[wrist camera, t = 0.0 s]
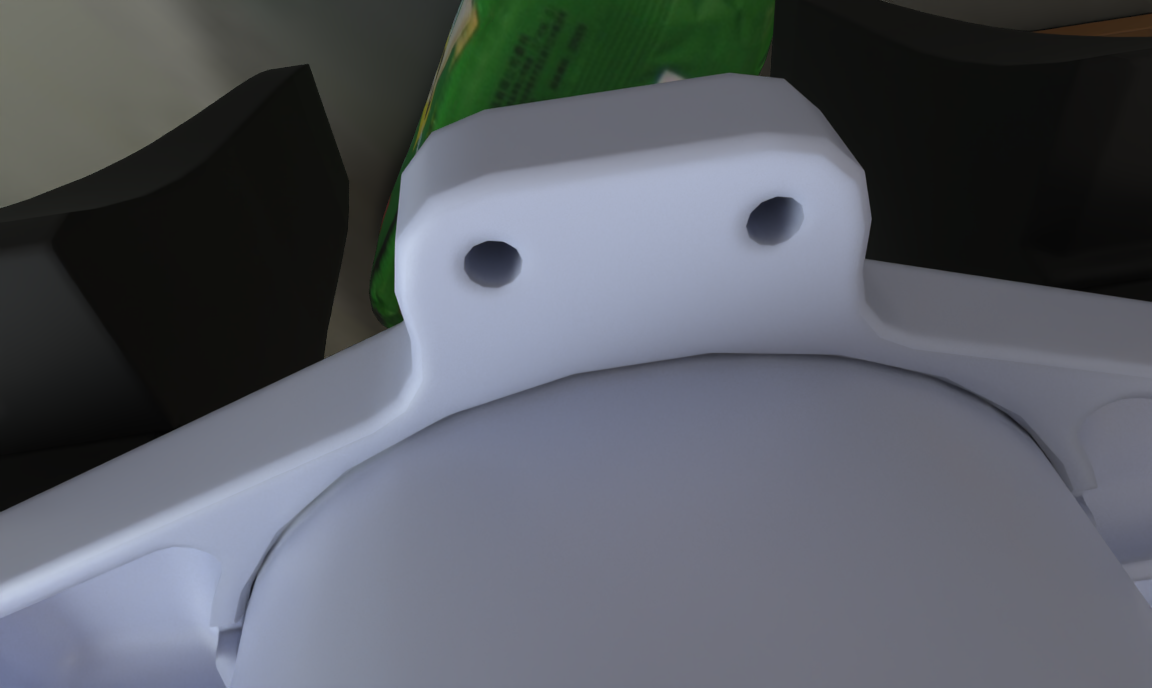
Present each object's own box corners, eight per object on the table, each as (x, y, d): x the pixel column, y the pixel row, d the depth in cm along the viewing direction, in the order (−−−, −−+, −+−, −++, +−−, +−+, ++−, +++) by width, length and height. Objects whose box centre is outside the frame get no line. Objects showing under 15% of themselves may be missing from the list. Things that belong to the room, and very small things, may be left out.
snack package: (800, -115, 20) (880, -55, 16) (544, 325, 29) (556, 432, 25) (546, -267, 18) (569, -238, 14) (349, 267, 27) (330, 376, 23)
